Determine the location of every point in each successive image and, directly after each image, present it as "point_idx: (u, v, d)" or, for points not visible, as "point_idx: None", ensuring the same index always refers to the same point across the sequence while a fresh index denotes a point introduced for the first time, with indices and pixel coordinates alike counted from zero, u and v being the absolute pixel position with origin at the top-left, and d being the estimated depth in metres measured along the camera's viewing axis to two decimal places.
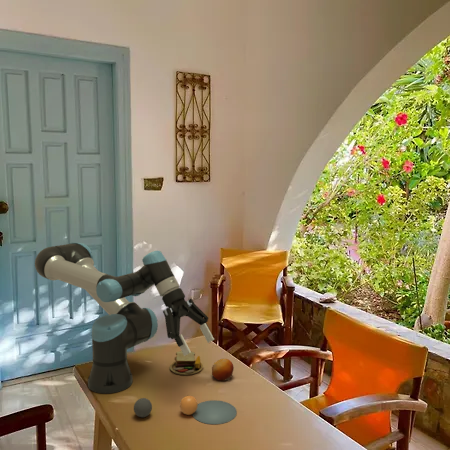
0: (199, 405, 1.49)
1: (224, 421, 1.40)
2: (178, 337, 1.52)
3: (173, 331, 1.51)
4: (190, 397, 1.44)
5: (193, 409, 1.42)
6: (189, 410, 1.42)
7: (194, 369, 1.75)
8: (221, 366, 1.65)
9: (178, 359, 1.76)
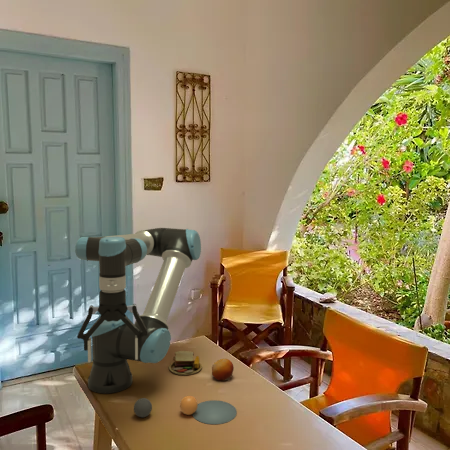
0: (199, 405, 1.49)
1: (224, 421, 1.40)
2: (85, 341, 1.37)
3: (80, 334, 1.35)
4: (190, 397, 1.44)
5: (193, 409, 1.42)
6: (189, 410, 1.42)
7: (193, 369, 1.75)
8: (221, 366, 1.65)
9: (177, 359, 1.76)
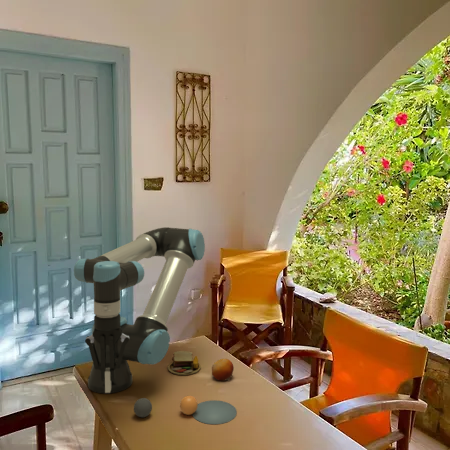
0: (199, 405, 1.49)
1: (224, 421, 1.40)
2: (102, 372, 1.38)
3: (96, 365, 1.37)
4: (190, 397, 1.44)
5: (193, 409, 1.42)
6: (189, 410, 1.42)
7: (192, 369, 1.75)
8: (221, 366, 1.65)
9: (176, 359, 1.76)
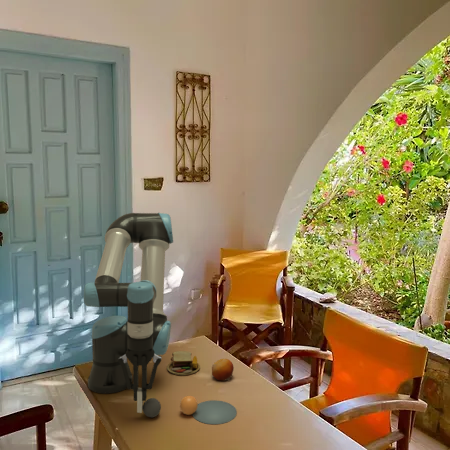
0: (199, 405, 1.49)
1: (224, 421, 1.40)
2: (135, 392, 1.40)
3: (128, 385, 1.39)
4: (190, 397, 1.44)
5: (193, 409, 1.42)
6: (189, 410, 1.42)
7: (191, 369, 1.75)
8: (221, 366, 1.65)
9: (175, 359, 1.76)
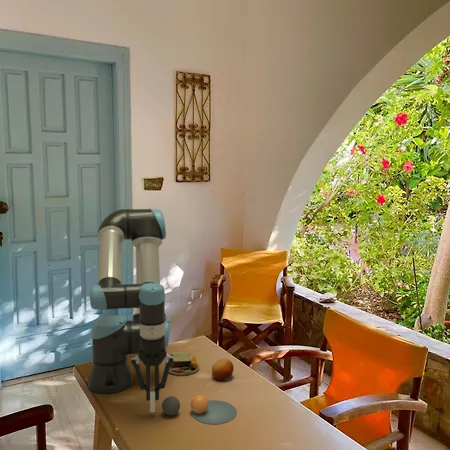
0: None
1: (224, 421, 1.40)
2: (148, 392, 1.41)
3: (141, 385, 1.40)
4: (207, 402, 1.45)
5: (201, 411, 1.43)
6: (199, 409, 1.42)
7: (190, 369, 1.75)
8: (221, 366, 1.65)
9: (174, 359, 1.76)
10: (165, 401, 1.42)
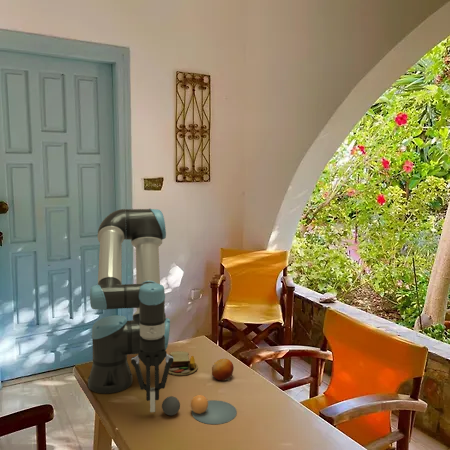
0: None
1: (224, 421, 1.40)
2: (148, 392, 1.41)
3: (141, 385, 1.40)
4: (207, 402, 1.45)
5: (201, 411, 1.43)
6: (199, 409, 1.42)
7: (189, 369, 1.75)
8: (221, 366, 1.65)
9: (173, 360, 1.75)
10: (165, 401, 1.42)
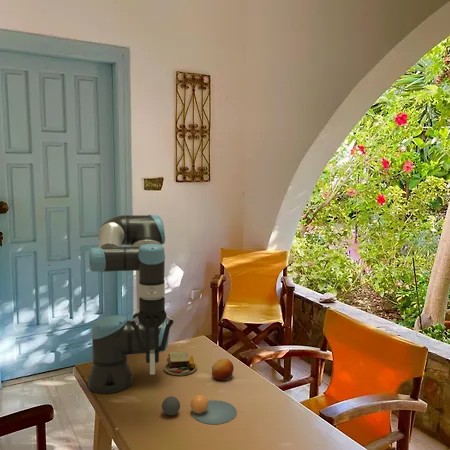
0: None
1: (224, 421, 1.40)
2: (147, 354, 1.40)
3: (141, 347, 1.39)
4: (207, 402, 1.45)
5: (201, 411, 1.43)
6: (199, 409, 1.42)
7: (188, 369, 1.75)
8: (221, 366, 1.65)
9: (172, 360, 1.75)
10: (165, 401, 1.42)
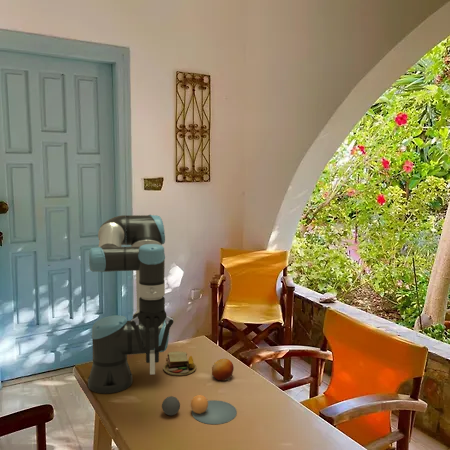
0: None
1: (224, 421, 1.40)
2: (147, 354, 1.40)
3: (141, 347, 1.39)
4: (207, 402, 1.45)
5: (201, 411, 1.43)
6: (199, 409, 1.42)
7: (188, 369, 1.75)
8: (221, 366, 1.65)
9: (171, 360, 1.75)
10: (165, 401, 1.42)
